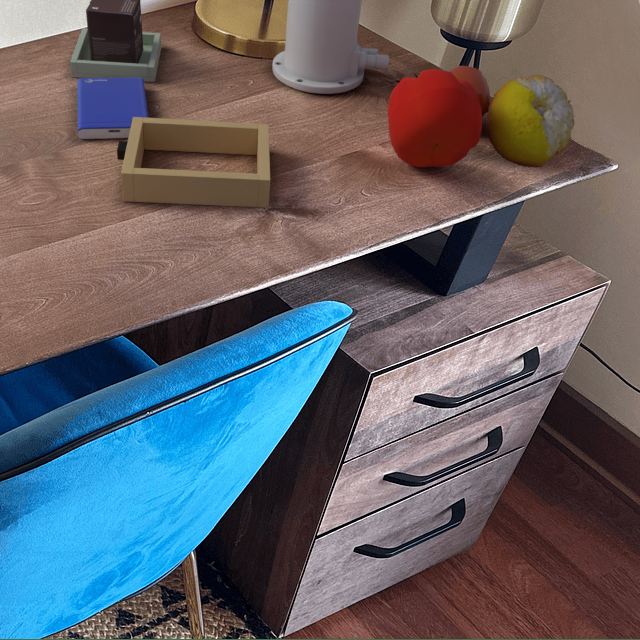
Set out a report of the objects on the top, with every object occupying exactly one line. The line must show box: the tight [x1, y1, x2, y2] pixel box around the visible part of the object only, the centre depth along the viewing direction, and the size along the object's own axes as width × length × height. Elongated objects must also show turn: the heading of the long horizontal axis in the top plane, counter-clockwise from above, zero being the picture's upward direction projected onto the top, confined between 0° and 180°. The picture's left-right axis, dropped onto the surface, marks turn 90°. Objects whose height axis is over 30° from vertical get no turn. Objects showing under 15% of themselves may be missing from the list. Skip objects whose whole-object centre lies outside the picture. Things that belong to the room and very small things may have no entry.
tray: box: [69, 27, 162, 83], centre depth 111 cm, size 11×11×2 cm
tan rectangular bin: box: [116, 117, 271, 209], centre depth 92 cm, size 16×12×4 cm
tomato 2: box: [447, 65, 491, 118], centre depth 106 cm, size 7×7×8 cm
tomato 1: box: [387, 68, 483, 168], centre depth 95 cm, size 11×12×9 cm
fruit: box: [485, 74, 576, 168], centre depth 99 cm, size 11×10×8 cm
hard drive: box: [76, 78, 149, 140], centre depth 101 cm, size 2×8×12 cm
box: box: [85, 0, 143, 64], centre depth 109 cm, size 6×6×7 cm
